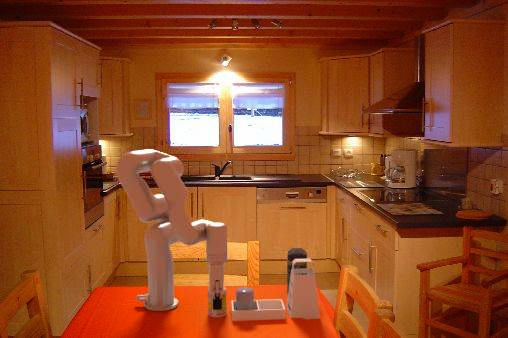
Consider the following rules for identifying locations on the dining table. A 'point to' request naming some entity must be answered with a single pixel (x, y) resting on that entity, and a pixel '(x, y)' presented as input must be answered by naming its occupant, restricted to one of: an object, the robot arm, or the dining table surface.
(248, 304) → the grey smooth round piece
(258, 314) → the caddy
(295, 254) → the coffee jar
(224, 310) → the supplement bottle
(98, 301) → the dining table surface
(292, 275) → the grater
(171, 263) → the robot arm
